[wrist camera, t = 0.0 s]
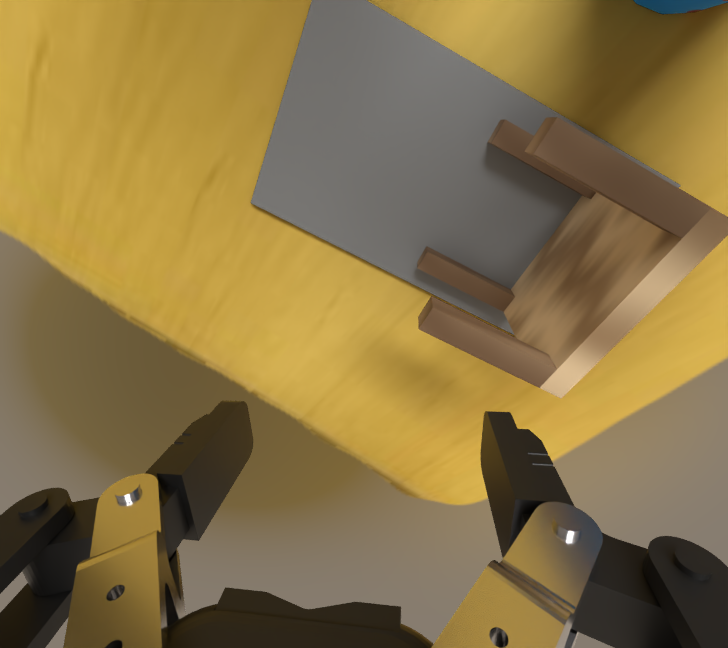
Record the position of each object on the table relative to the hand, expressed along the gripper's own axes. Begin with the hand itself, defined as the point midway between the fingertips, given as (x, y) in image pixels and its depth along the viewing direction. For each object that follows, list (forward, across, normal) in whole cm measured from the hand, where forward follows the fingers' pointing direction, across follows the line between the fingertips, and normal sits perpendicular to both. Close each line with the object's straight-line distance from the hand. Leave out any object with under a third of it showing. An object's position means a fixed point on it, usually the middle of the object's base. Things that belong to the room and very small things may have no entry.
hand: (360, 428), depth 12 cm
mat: (+22, -4, -7) cm, 23 cm away
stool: (+22, -9, -4) cm, 24 cm away
